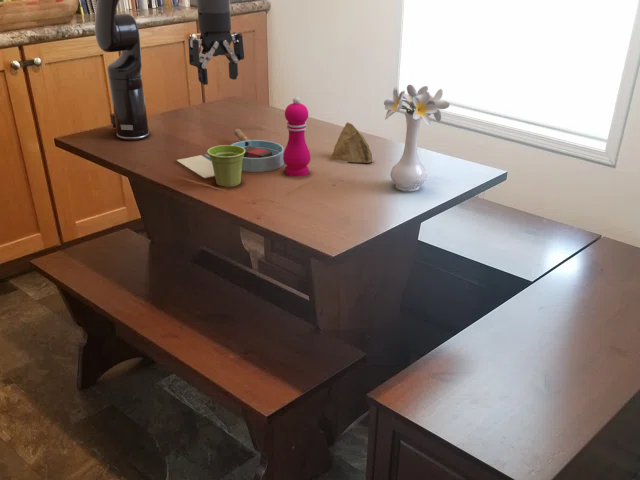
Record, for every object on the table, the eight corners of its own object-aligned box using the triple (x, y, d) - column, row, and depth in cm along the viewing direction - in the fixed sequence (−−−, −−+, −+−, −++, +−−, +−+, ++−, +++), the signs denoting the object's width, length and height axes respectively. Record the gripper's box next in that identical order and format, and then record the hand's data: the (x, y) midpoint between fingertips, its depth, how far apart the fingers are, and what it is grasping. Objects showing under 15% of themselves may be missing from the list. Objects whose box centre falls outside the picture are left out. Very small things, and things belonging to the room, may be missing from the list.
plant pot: (203, 181, 177) (200, 148, 172) (235, 174, 182) (234, 142, 177) (220, 193, 171) (218, 159, 166) (253, 186, 175) (252, 152, 170)
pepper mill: (314, 171, 185) (315, 95, 174) (304, 180, 179) (304, 102, 168) (289, 167, 187) (288, 92, 176) (279, 176, 181) (277, 98, 170)
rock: (382, 152, 193) (358, 139, 198) (373, 132, 185) (348, 119, 190) (357, 180, 192) (333, 166, 197) (347, 162, 184) (322, 147, 189)
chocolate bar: (239, 161, 189) (238, 149, 187) (249, 157, 192) (249, 145, 190) (262, 167, 185) (262, 155, 183) (272, 163, 188) (272, 151, 187)
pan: (217, 161, 190) (216, 146, 187) (265, 151, 198) (264, 136, 195) (246, 178, 180) (245, 162, 177) (295, 166, 188) (295, 151, 185)
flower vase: (445, 181, 182) (457, 83, 168) (412, 203, 169) (422, 99, 155) (403, 171, 188) (411, 75, 174) (367, 191, 175) (373, 89, 161)
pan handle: (251, 146, 193) (251, 139, 192) (244, 147, 193) (244, 140, 192) (240, 134, 202) (239, 127, 201) (233, 134, 202) (233, 128, 201)
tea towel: (176, 162, 188) (176, 159, 188) (205, 156, 193) (205, 154, 192) (204, 179, 178) (204, 177, 177) (234, 173, 182) (234, 170, 182)
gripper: (229, 4, 165) (233, 74, 174) (178, 9, 157) (185, 82, 166) (248, 8, 161) (251, 80, 170) (196, 13, 153) (202, 89, 162)
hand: (218, 81), depth 168 cm, fingers open, 8 cm apart
